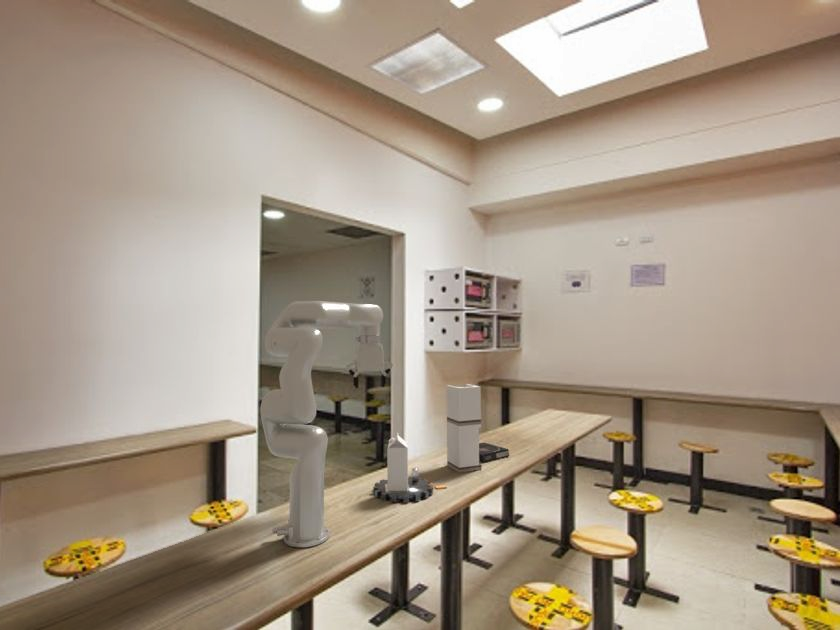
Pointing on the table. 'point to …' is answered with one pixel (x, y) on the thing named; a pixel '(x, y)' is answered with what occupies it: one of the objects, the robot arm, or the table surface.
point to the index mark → (440, 487)
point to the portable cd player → (491, 452)
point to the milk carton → (397, 464)
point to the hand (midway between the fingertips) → (369, 387)
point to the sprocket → (415, 491)
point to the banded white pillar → (463, 427)
